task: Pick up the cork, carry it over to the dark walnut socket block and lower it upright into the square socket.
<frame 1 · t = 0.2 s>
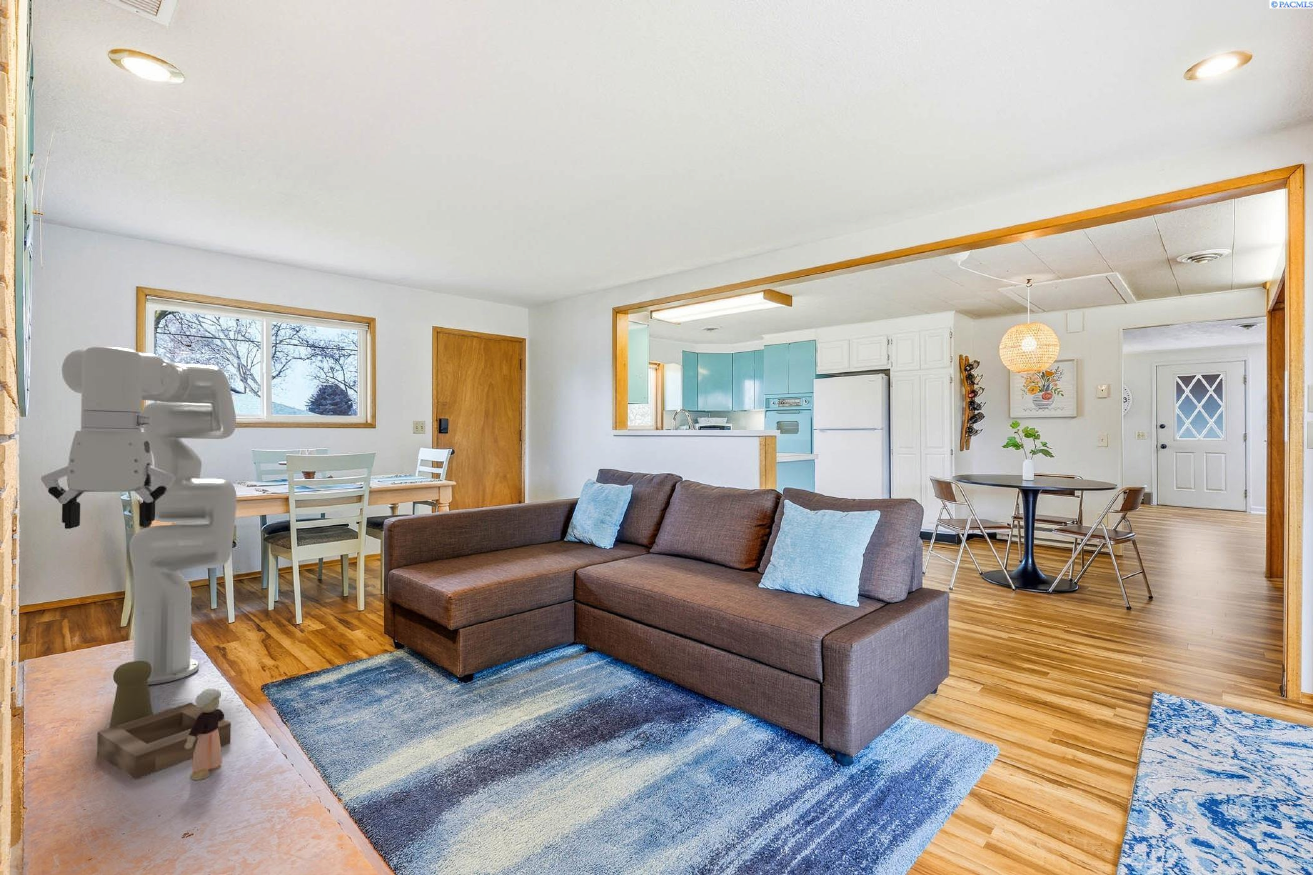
hand: (109, 526, 103), 36 cm above the table, tool pointing down, fingers open, 9 cm apart
grandmother figurine: (207, 771, 96), on the table
socket block: (165, 748, 102), on the table
cork: (131, 726, 110), on the table
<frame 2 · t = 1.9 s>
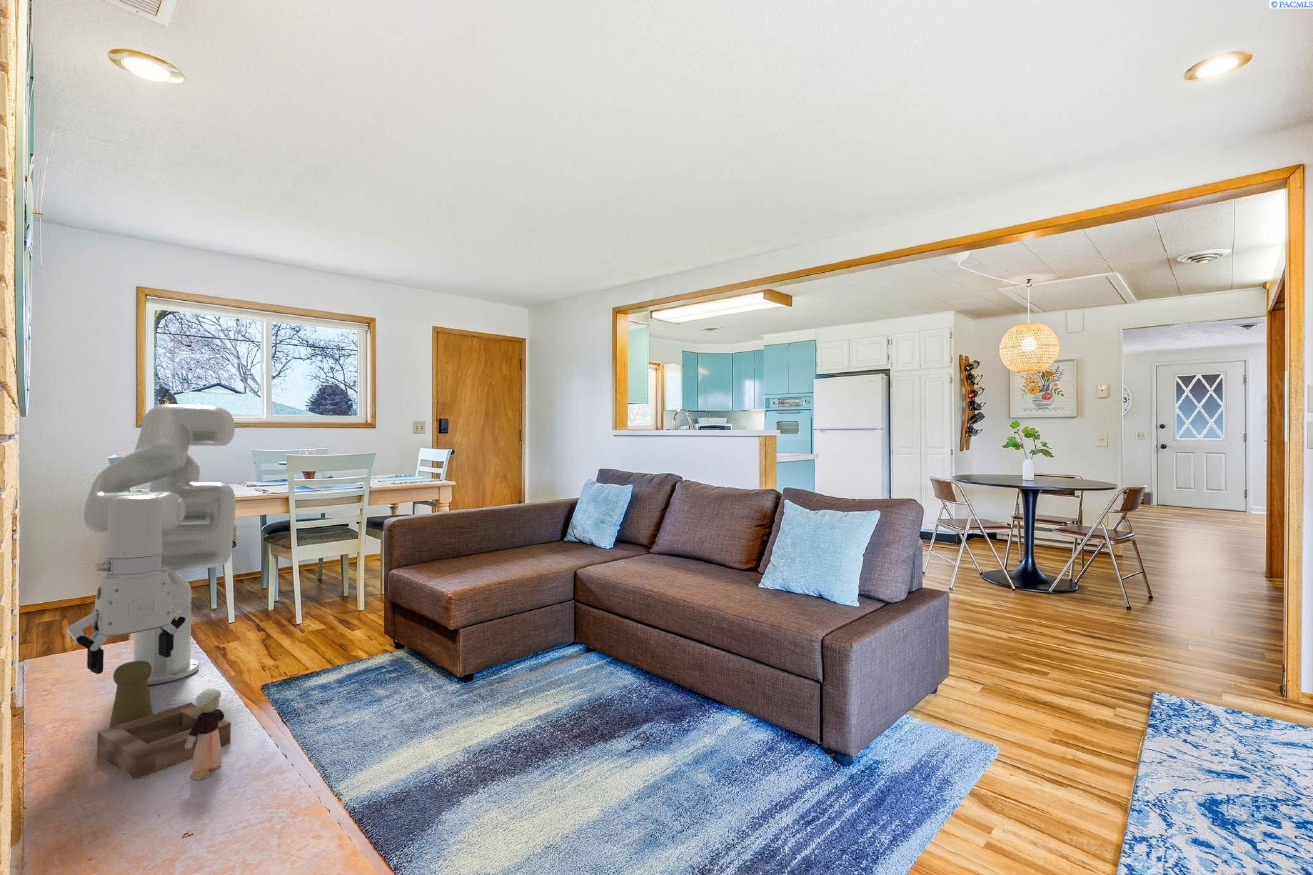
hand: (131, 663, 109), 11 cm above the table, tool pointing down, fingers open, 9 cm apart
nothing on the table moved.
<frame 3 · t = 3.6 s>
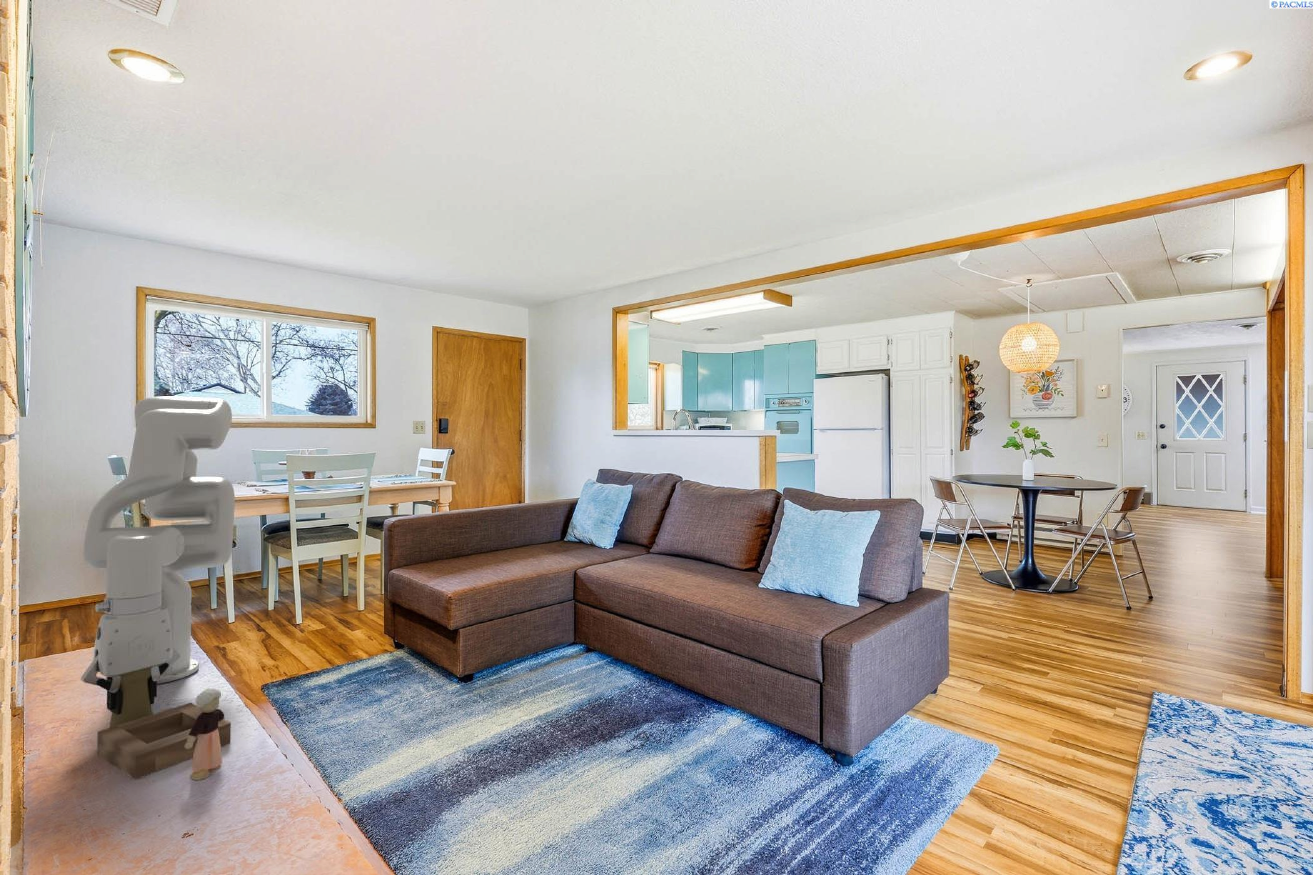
hand: (132, 706, 110), 3 cm above the table, tool pointing down, fingers closed on cork, 3 cm apart
cork: (131, 726, 110), on the table, touching gripper
everything else where it was.
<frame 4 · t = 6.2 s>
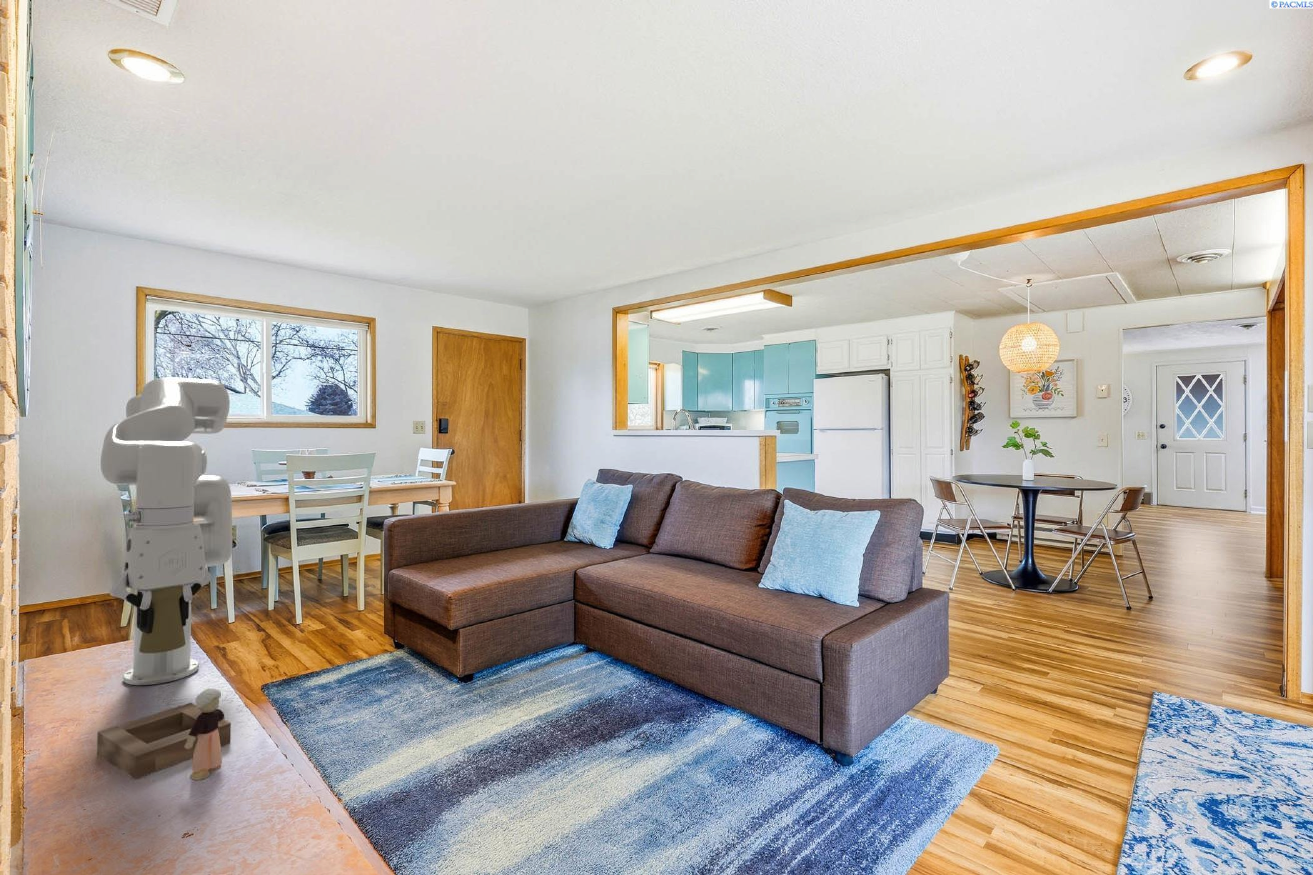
hand: (163, 627, 103), 20 cm above the table, tool pointing down, fingers closed on cork, 3 cm apart
cork: (162, 648, 103), point 16 cm above the table, touching gripper
everything else where it was.
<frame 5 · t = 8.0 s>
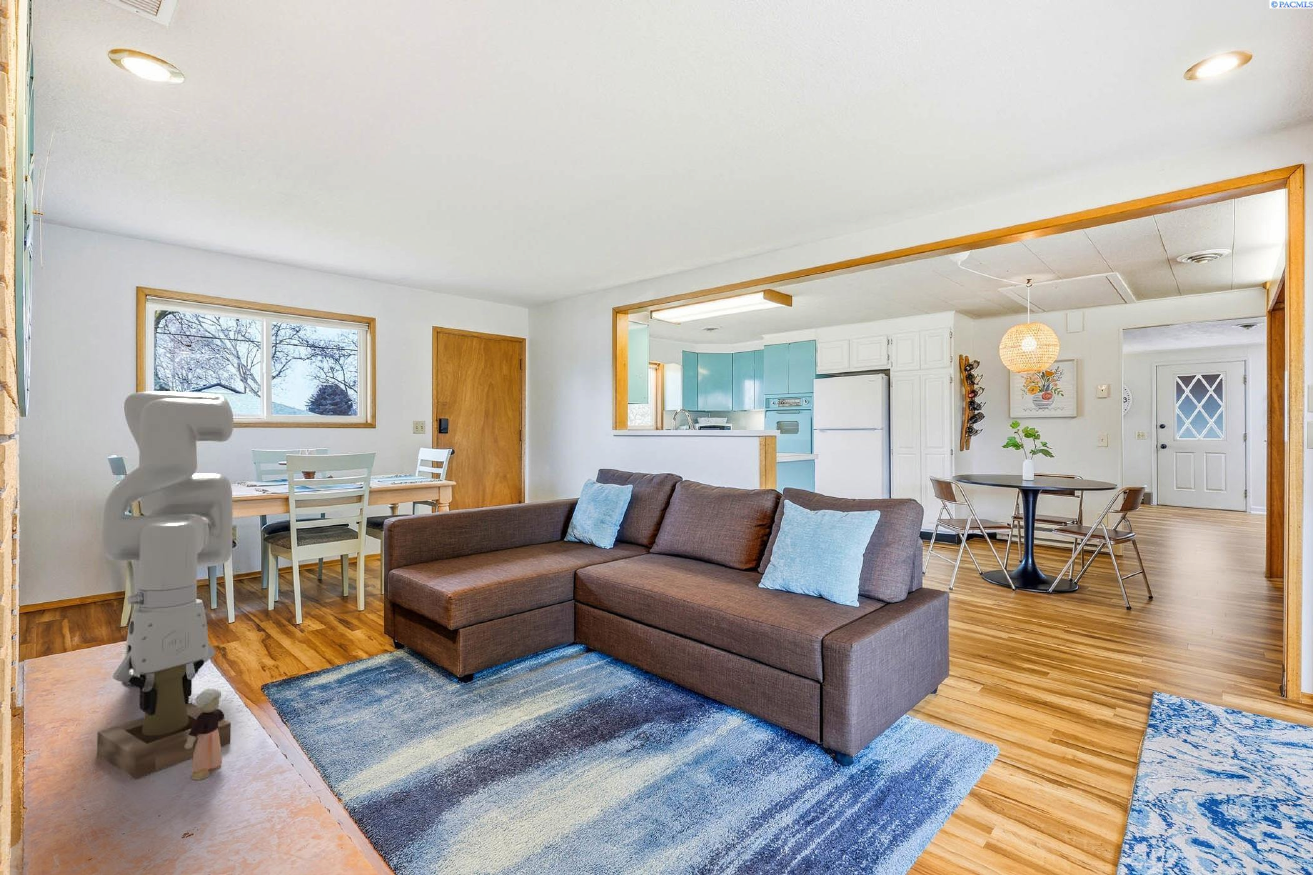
hand: (165, 706, 102), 7 cm above the table, tool pointing down, fingers closed on cork, 3 cm apart
cork: (165, 727, 102), point 3 cm above the table, touching gripper
everything else where it was.
when the fingers open (5 cm above the table, at t = 9.1 s): cork drops 1 cm, resting in socket block.
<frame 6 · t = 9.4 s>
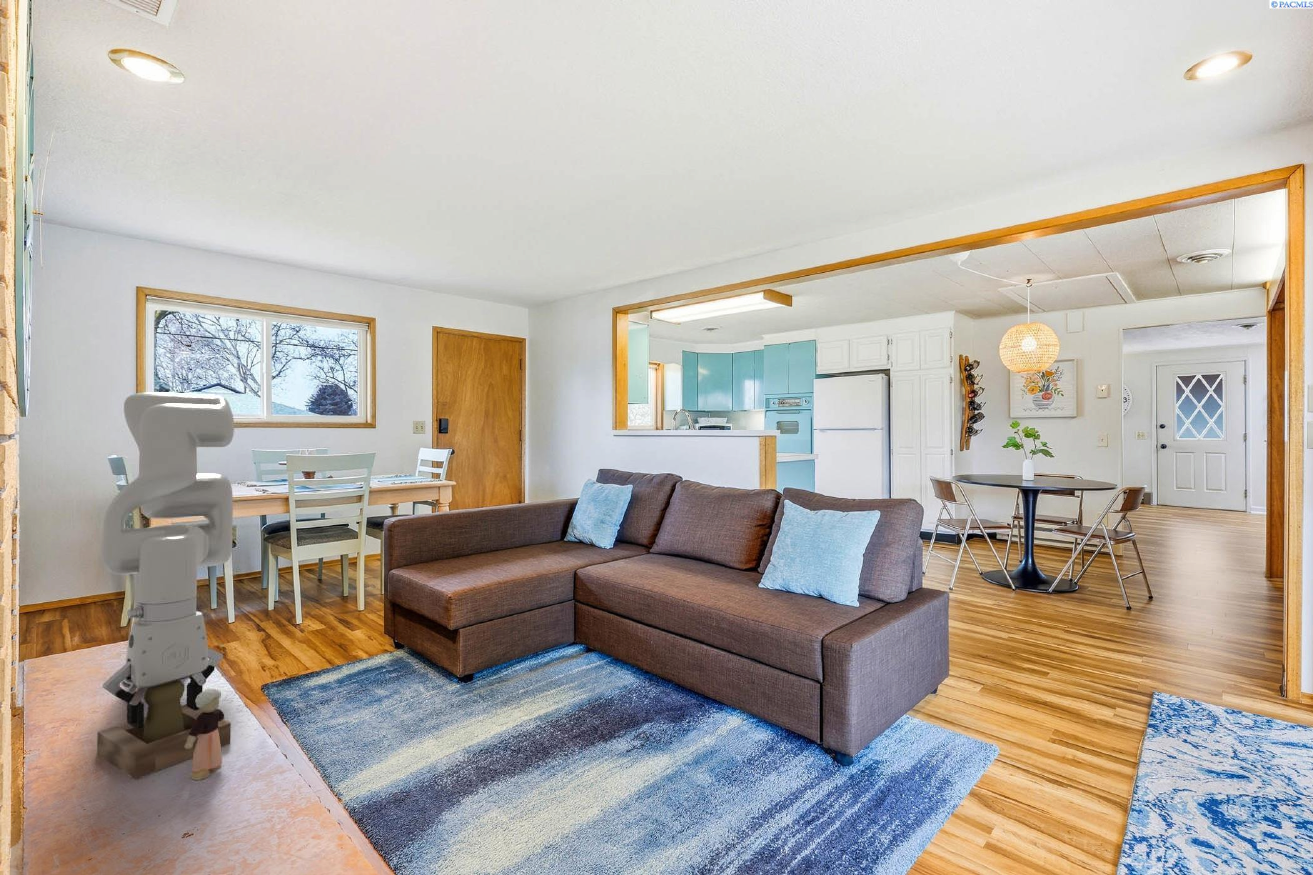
hand: (165, 716, 102), 5 cm above the table, tool pointing down, fingers open, 7 cm apart
cork: (163, 749, 102), resting in socket block
everything else where it was.
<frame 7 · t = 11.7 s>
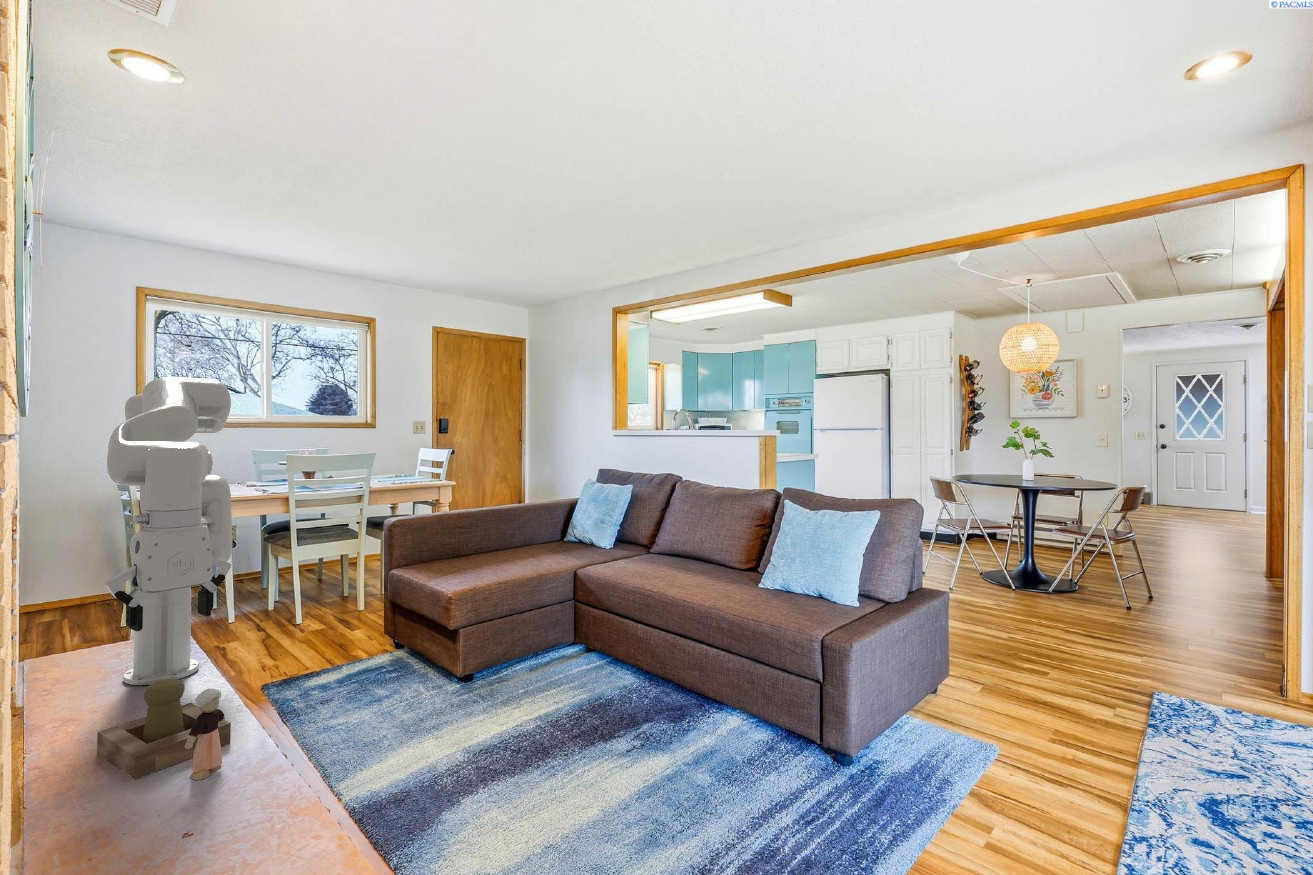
hand: (171, 621, 103), 20 cm above the table, tool pointing down, fingers open, 9 cm apart
nothing on the table moved.
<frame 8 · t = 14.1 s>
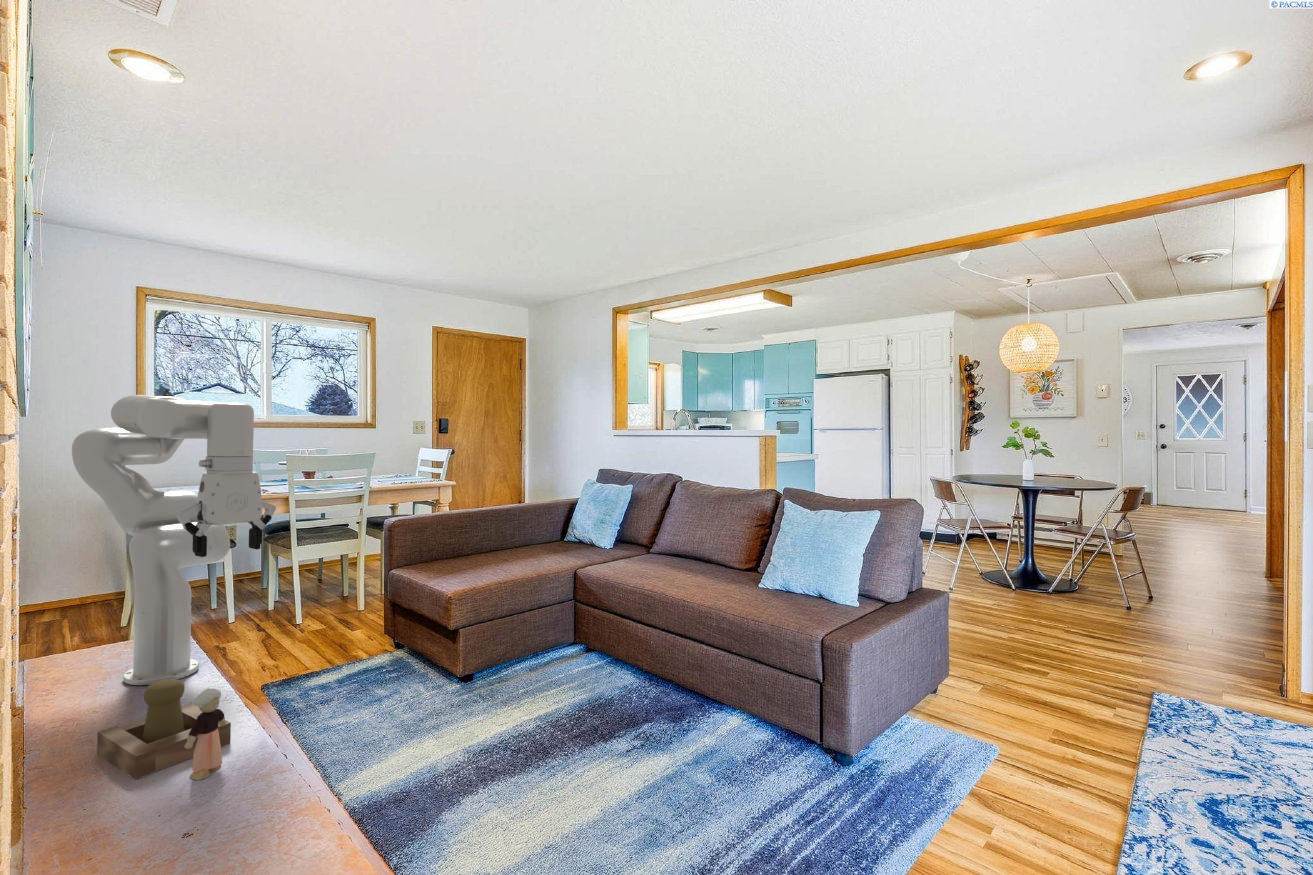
hand: (228, 552, 123), 28 cm above the table, tool pointing down, fingers open, 9 cm apart
nothing on the table moved.
at the end: cork 0.3 cm off-centre on the socket block, point 0.0 cm above the socket block's base; cork tilted 0°; the gripper is holding nothing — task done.
